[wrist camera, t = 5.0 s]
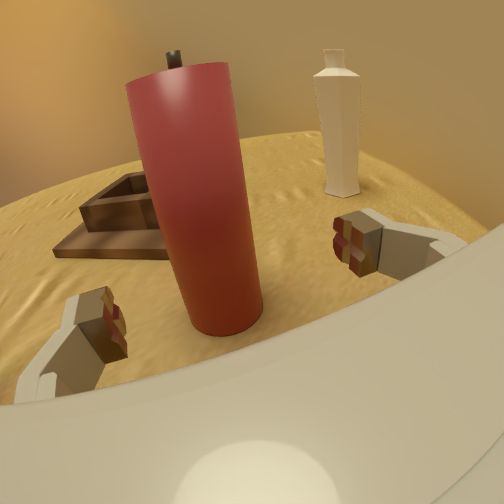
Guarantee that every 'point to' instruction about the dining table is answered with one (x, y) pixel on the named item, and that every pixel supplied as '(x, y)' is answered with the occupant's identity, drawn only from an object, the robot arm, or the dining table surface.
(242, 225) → the burgundy candle
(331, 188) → the perfume bottle
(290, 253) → the dining table surface
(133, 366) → the dining table surface
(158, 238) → the walnut stand
